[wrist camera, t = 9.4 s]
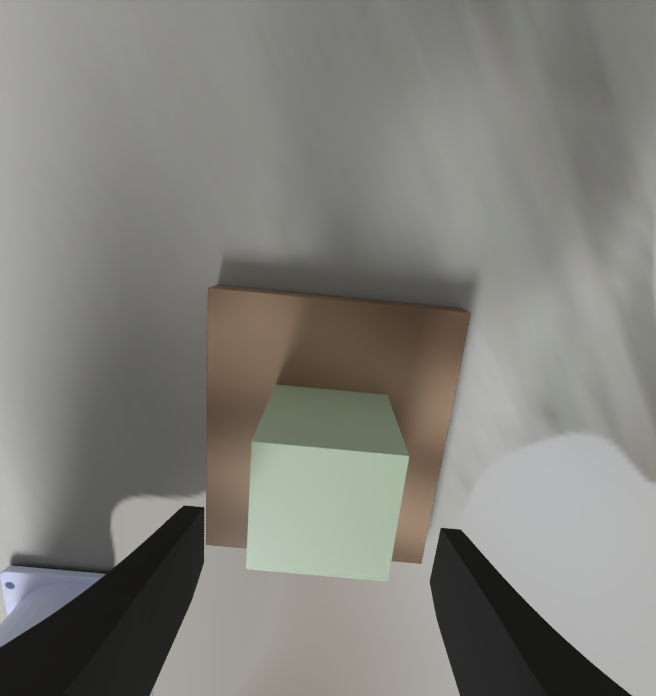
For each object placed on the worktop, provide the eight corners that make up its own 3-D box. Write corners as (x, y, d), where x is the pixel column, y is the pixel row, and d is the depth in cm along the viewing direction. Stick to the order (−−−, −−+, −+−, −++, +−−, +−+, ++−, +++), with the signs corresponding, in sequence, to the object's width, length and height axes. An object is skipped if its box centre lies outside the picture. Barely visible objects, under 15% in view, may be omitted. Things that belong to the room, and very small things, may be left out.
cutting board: (416, 545, 20) (421, 563, 19) (213, 527, 20) (205, 544, 19) (461, 308, 17) (471, 313, 16) (216, 285, 17) (207, 287, 15)
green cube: (373, 491, 18) (387, 581, 13) (269, 481, 18) (246, 568, 13) (387, 394, 17) (409, 456, 12) (275, 384, 17) (251, 441, 12)
